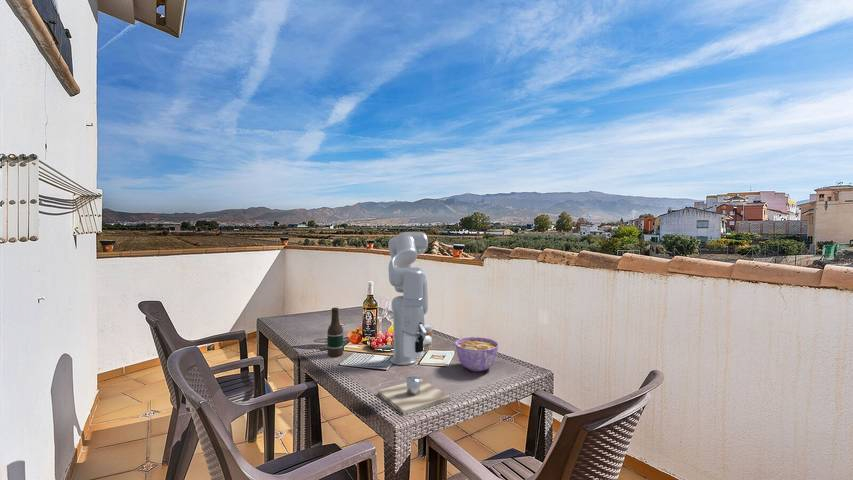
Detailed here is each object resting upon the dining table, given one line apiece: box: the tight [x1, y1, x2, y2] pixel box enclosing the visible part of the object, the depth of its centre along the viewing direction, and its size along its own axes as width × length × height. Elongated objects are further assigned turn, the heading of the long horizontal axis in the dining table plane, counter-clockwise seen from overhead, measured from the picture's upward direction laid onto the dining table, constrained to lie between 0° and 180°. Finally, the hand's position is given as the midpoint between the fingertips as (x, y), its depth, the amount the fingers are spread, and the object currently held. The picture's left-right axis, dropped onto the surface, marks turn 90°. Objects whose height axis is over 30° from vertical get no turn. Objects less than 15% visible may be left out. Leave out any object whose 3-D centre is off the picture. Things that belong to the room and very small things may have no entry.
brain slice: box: [367, 341, 394, 350], centre depth 205 cm, size 20×17×3 cm
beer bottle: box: [326, 307, 344, 358], centre depth 193 cm, size 8×8×24 cm
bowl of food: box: [455, 336, 500, 373], centre depth 175 cm, size 20×20×12 cm
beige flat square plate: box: [377, 375, 451, 413], centre depth 145 cm, size 20×20×7 cm
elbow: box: [404, 332, 433, 358], centre depth 145 cm, size 7×11×8 cm
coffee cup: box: [423, 322, 434, 351], centre depth 205 cm, size 9×9×12 cm
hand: (413, 348), depth 144 cm, fingers closed on elbow, 7 cm apart
